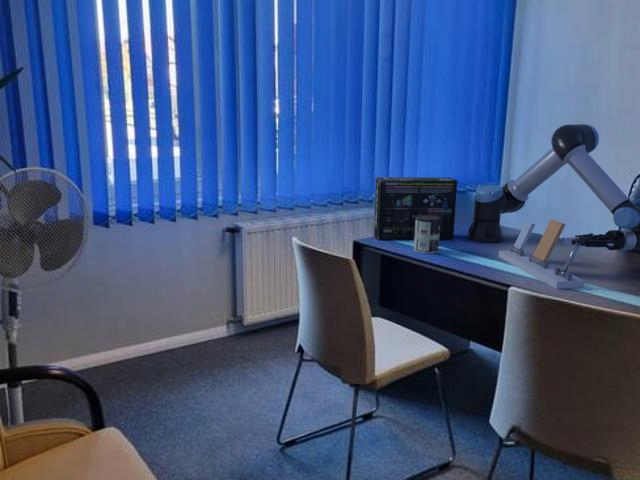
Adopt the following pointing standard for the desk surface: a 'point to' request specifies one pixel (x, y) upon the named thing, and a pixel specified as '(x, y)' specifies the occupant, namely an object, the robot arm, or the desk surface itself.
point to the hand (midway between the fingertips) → (562, 241)
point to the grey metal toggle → (571, 256)
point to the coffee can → (427, 234)
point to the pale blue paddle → (523, 237)
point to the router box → (413, 205)
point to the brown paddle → (548, 242)
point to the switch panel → (541, 270)
